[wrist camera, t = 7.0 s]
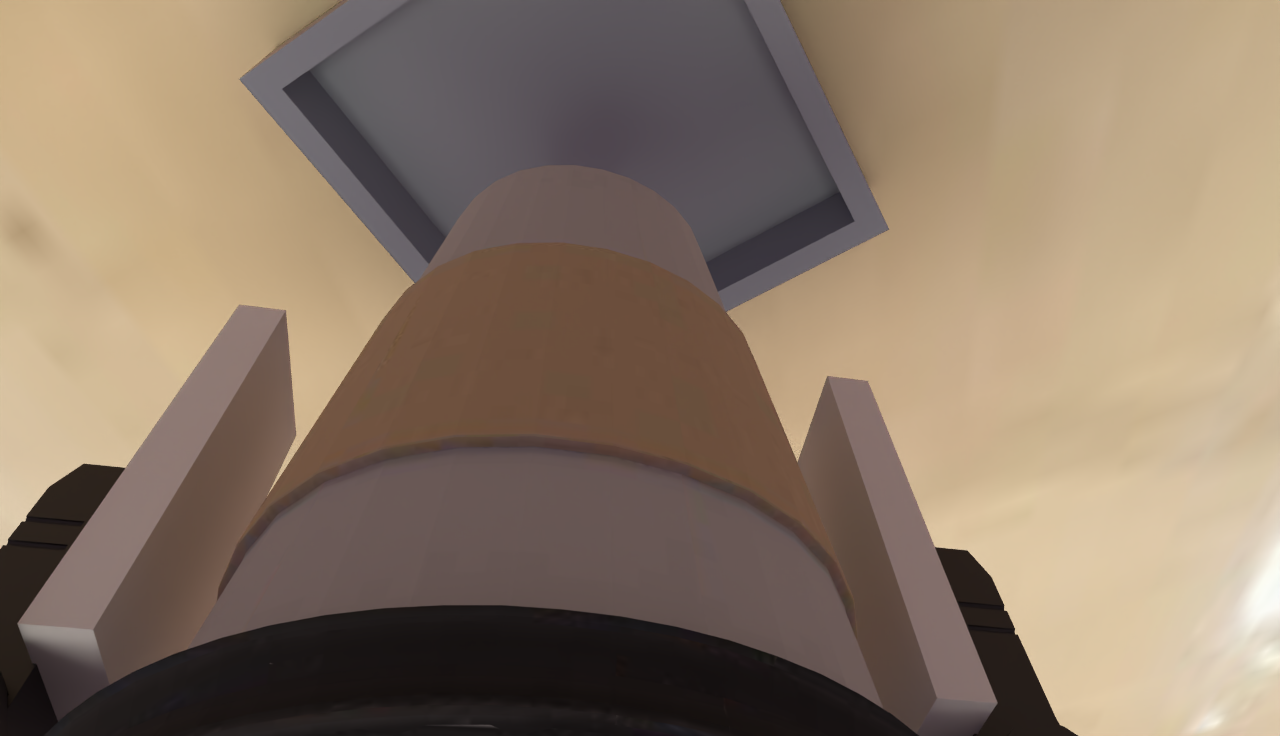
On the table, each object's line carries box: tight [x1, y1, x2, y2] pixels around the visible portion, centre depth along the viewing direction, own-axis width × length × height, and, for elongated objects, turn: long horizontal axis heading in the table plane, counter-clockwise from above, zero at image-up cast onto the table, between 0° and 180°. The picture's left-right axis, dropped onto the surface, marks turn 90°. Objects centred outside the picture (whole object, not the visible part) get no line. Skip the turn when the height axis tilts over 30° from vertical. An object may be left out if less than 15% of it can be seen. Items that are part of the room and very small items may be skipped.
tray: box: [240, 0, 889, 311], centre depth 27 cm, size 14×14×3 cm
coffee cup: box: [44, 165, 919, 736], centre depth 13 cm, size 9×9×15 cm
